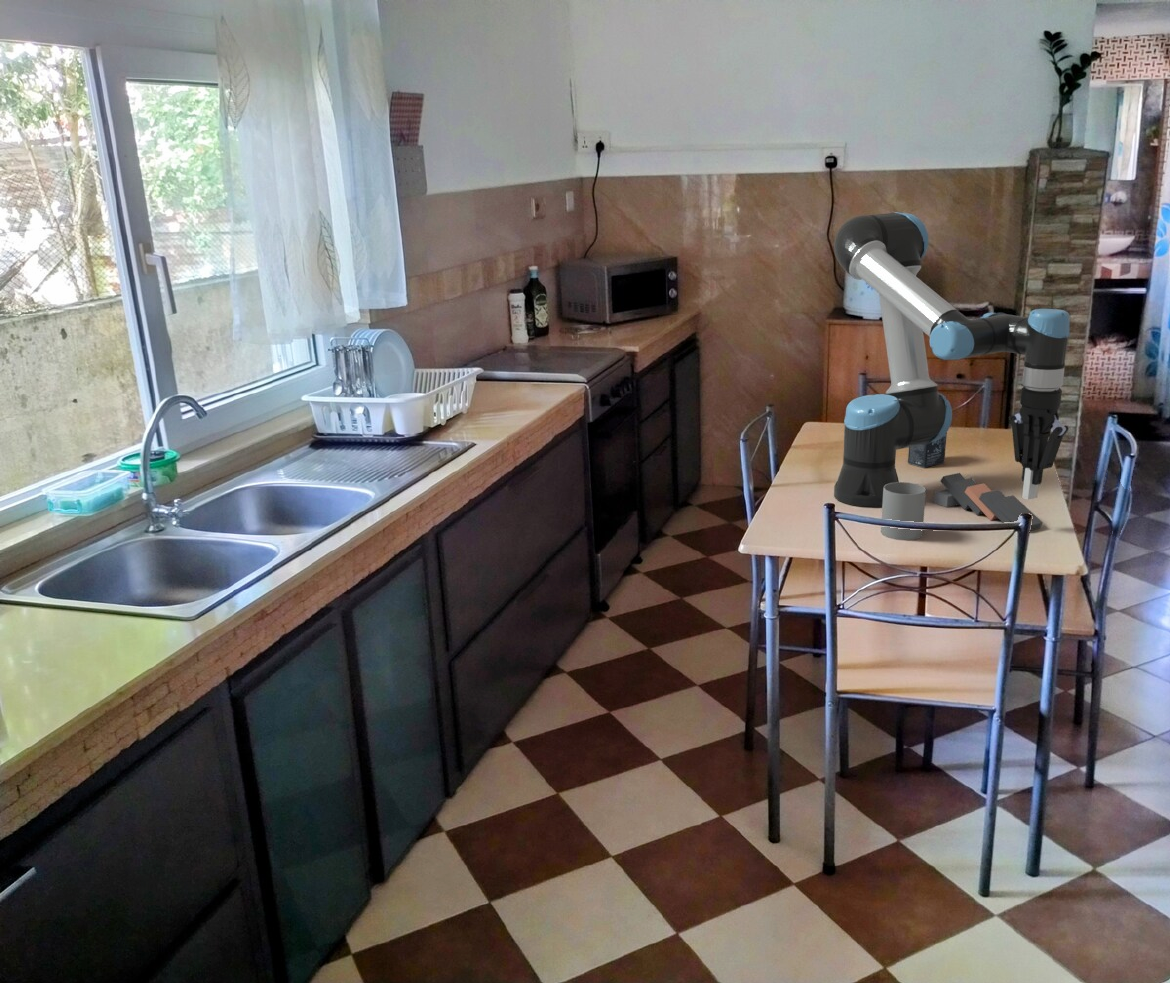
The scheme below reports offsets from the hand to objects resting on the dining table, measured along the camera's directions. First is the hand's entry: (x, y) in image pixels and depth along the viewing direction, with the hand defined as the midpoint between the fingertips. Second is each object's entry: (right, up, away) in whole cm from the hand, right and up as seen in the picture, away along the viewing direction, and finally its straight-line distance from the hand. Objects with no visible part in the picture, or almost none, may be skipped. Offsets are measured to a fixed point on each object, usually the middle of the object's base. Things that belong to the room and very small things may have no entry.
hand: (1029, 497), depth 211 cm
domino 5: (+1, -6, +1) cm, 6 cm away
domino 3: (-3, -4, +8) cm, 9 cm away
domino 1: (-6, -2, +14) cm, 15 cm away
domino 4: (-1, -5, +4) cm, 7 cm away
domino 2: (-5, -3, +11) cm, 12 cm away
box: (-5, +8, +49) cm, 50 cm away
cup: (-26, -8, +2) cm, 27 cm away
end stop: (-9, -1, +20) cm, 22 cm away
